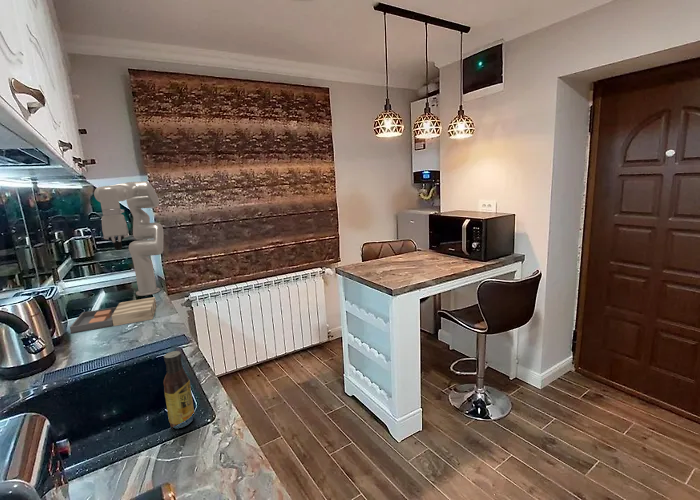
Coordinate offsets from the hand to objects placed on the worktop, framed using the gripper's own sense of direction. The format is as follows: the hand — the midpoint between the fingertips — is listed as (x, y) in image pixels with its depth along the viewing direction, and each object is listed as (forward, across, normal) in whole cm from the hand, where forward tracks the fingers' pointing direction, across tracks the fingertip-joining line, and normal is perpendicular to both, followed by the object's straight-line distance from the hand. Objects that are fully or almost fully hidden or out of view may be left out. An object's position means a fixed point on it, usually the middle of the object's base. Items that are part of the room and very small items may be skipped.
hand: (118, 249), depth 180 cm
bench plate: (+32, -4, +10) cm, 34 cm away
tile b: (+29, +11, +16) cm, 35 cm away
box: (+32, +12, +10) cm, 36 cm away
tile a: (+29, +11, +6) cm, 32 cm away
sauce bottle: (+32, -28, +110) cm, 118 cm away
